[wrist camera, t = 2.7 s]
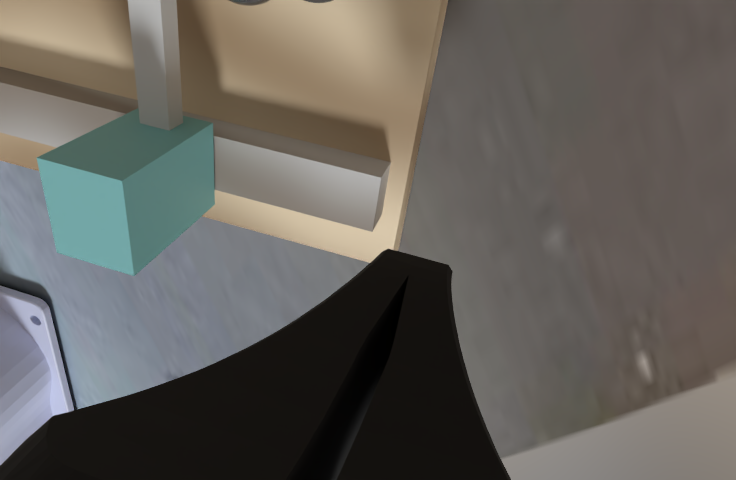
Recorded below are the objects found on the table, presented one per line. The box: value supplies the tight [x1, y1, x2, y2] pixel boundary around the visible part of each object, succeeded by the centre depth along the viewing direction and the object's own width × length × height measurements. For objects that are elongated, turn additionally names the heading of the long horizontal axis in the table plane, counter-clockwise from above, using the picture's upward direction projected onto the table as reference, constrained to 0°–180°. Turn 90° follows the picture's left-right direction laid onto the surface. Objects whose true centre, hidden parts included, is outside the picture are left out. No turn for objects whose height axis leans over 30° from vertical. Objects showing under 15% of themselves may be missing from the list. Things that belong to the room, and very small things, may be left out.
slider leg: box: [37, 0, 215, 276], centre depth 12 cm, size 7×2×5 cm, turn 172°
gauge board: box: [0, 0, 448, 263], centre depth 14 cm, size 11×16×2 cm
